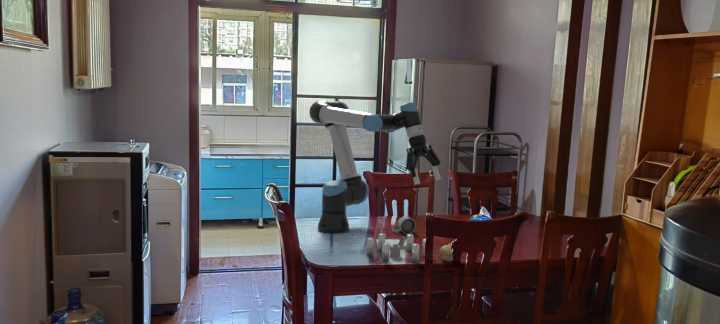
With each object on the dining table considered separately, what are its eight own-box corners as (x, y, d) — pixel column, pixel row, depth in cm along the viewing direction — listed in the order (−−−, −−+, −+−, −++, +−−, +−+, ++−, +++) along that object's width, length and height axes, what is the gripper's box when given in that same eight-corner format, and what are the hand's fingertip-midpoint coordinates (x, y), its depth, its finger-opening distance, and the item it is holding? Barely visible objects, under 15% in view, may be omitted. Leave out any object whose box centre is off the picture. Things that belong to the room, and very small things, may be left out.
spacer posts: (367, 262, 212) (368, 244, 211) (364, 249, 229) (365, 233, 229) (433, 263, 213) (434, 245, 212) (425, 250, 231) (425, 234, 230)
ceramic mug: (410, 229, 266) (410, 214, 265) (415, 234, 258) (416, 218, 257) (389, 230, 264) (390, 215, 263) (394, 235, 256) (395, 219, 255)
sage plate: (378, 248, 232) (378, 245, 232) (376, 241, 242) (376, 239, 242) (410, 248, 233) (410, 245, 233) (407, 242, 243) (407, 239, 242)
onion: (461, 263, 215) (462, 246, 214) (442, 263, 213) (443, 246, 212) (453, 257, 222) (454, 240, 222) (435, 257, 221) (436, 241, 220)
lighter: (392, 257, 219) (393, 238, 218) (389, 256, 220) (390, 237, 219) (405, 255, 223) (406, 236, 222) (402, 254, 224) (403, 235, 223)
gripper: (402, 136, 231) (414, 184, 229) (440, 131, 247) (452, 176, 245) (390, 141, 237) (402, 187, 234) (429, 136, 253) (440, 180, 251)
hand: (428, 182), depth 240 cm, fingers open, 13 cm apart
